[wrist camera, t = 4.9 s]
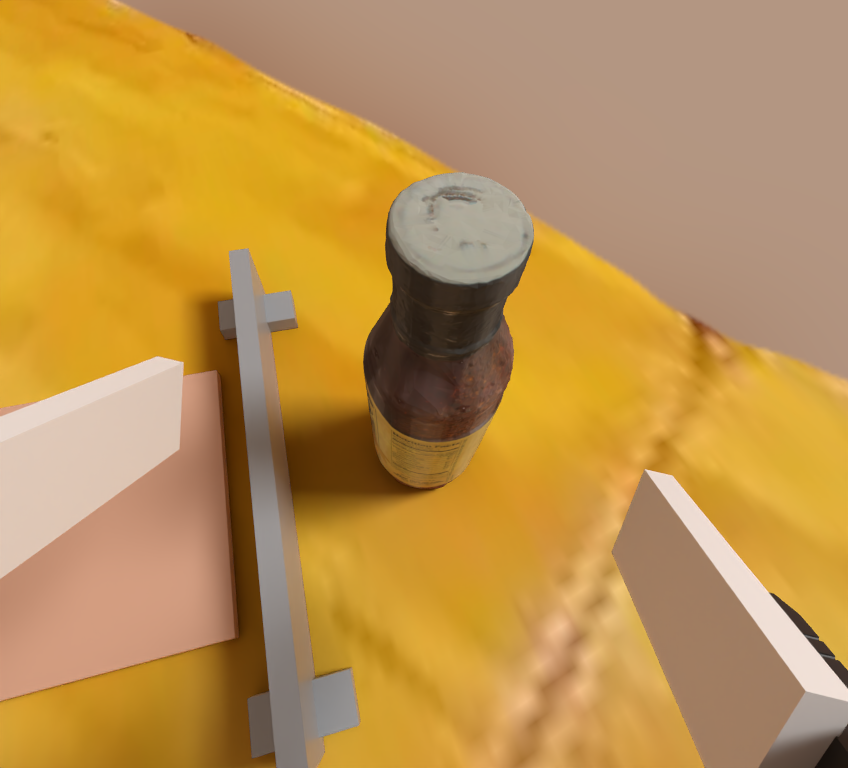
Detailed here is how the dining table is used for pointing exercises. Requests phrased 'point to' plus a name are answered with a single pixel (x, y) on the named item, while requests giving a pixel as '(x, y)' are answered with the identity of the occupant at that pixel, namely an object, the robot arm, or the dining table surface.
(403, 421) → the sauce bottle
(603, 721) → the dining table surface
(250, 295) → the grey wall
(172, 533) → the terracotta tile
